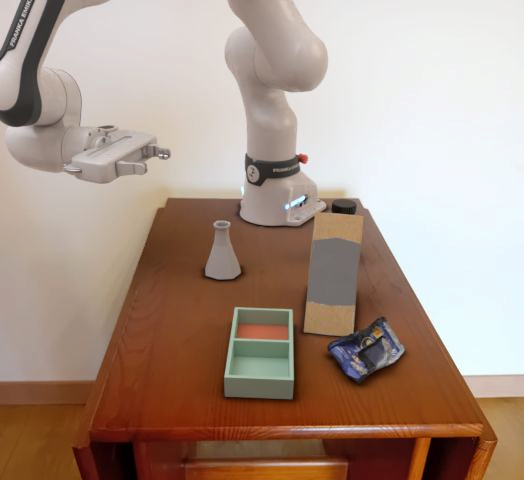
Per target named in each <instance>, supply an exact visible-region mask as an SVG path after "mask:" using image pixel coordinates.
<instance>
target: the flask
mask: <svg viewBox="0 0 524 480" xmlns="http://www.w3.org/2000/svg"><path fill="white" fill-rule="evenodd" d="M213 228H214V233H215V234H214V239H213V244H212V247H211V250H210V254H209V257H208V259H207V262H206V264H205V268H204V270H205V276H206V277H209V278H212V279H215V280H234V279H235V278H236V277H238V276H239V275H241V273H242V270H241V265H240V262H239V261H238V258H237V256H236V255H237V254H236V253H235V250H234V247H233V245H232V243H231V238H230V228H231V222H230V221H228V220H216V221H215V222H213Z"/></svg>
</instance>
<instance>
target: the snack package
mask: <svg viewBox="0 0 524 480" xmlns="http://www.w3.org/2000/svg"><path fill="white" fill-rule="evenodd" d="M326 349H327V352H329V353H330V354H329V357H331V355H332V356H333V357H334V358H335V360H336V361H337V362H338V364H339V365H338V366H340V368H341V369H342V372H343V373H344V376H346V377H348V379H350V380H352V381H354V382H355V383H356V384H359V385H360V384H362V383H363V382H364V381H366V379H367V377H369V375H371V374H373V373H374V372H375V371H378V370H380V369H382V368H385V367H387V366H390V365H391V364H393V363H395V362H396V361H397V360H399V359H400V357H401V356H402V355H403V354H404V352H405V350H406V348H405V346H404V344H401V342H400V341H399V337H398V336H397V334H396V333H395V332H394V330H393V328H392V327H391V326H390V323H389V321H388V320H387V317H385V316H380V317H378V318H376V319H375V320H374V321H372V323H371V324H370V325H368V326H365V328H363V329H359V330H356V331H353V334H350V335H346V336H339V338H337V339H335V340H333V341H331V342H330V343H328V344H327V347H326Z"/></svg>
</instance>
